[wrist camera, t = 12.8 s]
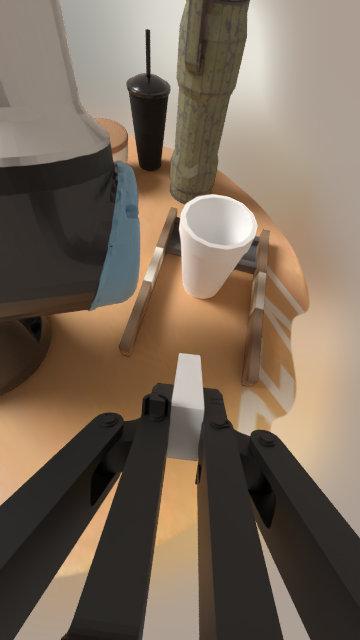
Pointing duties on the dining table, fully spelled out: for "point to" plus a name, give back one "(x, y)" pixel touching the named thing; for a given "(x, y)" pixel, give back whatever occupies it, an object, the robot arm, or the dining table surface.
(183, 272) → the foam cup
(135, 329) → the lane
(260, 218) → the dining table surface
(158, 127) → the drinking cup
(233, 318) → the dining table surface
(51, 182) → the robot arm
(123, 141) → the lidded jar
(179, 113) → the thermos
